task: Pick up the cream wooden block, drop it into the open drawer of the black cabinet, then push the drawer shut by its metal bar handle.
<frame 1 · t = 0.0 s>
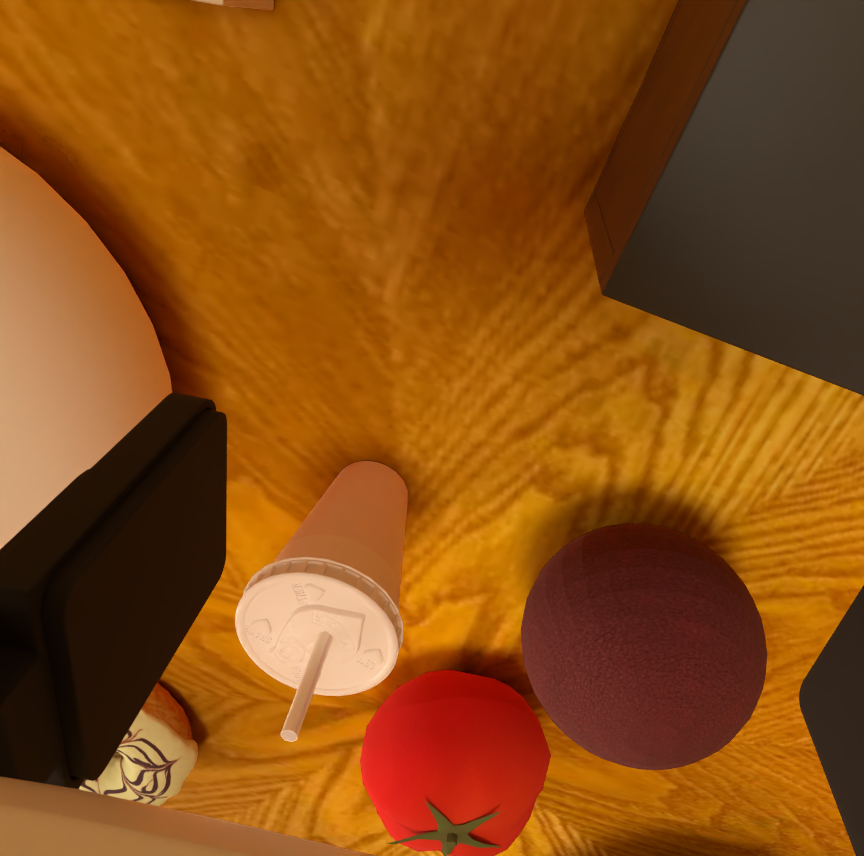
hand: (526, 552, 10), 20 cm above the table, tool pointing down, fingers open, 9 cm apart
smoothie: (372, 490, 35), on the table
decorative ball: (626, 561, 34), on the table
tomato: (464, 694, 41), on the table
decorated donut: (129, 713, 46), on the table
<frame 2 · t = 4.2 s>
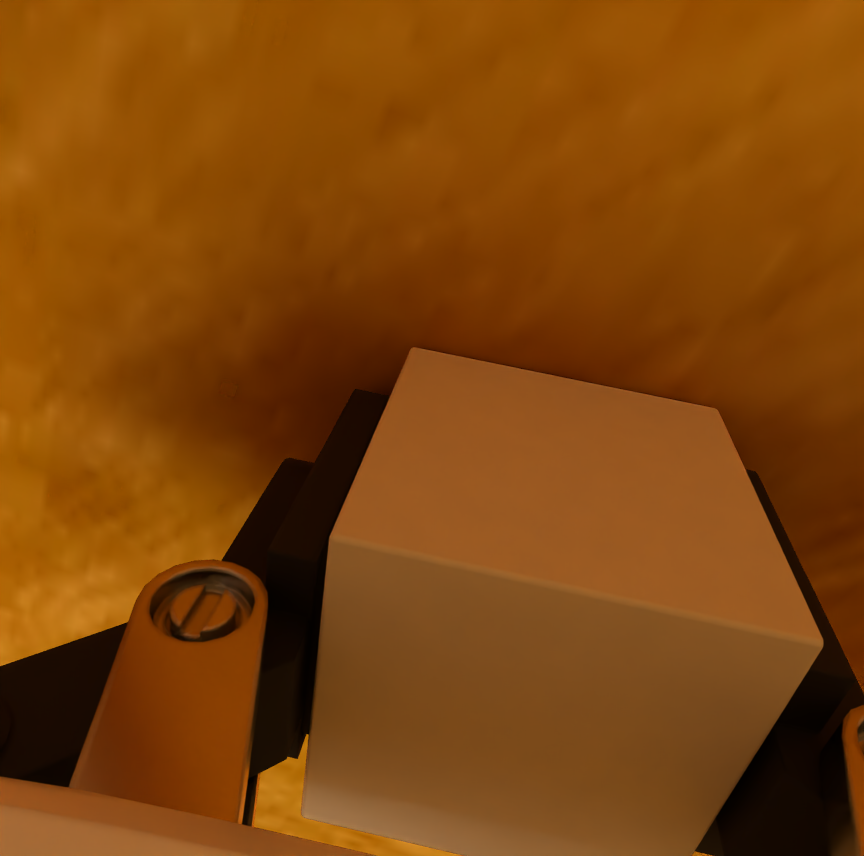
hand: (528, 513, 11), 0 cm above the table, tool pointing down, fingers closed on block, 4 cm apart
block: (528, 500, 11), on the table, touching gripper
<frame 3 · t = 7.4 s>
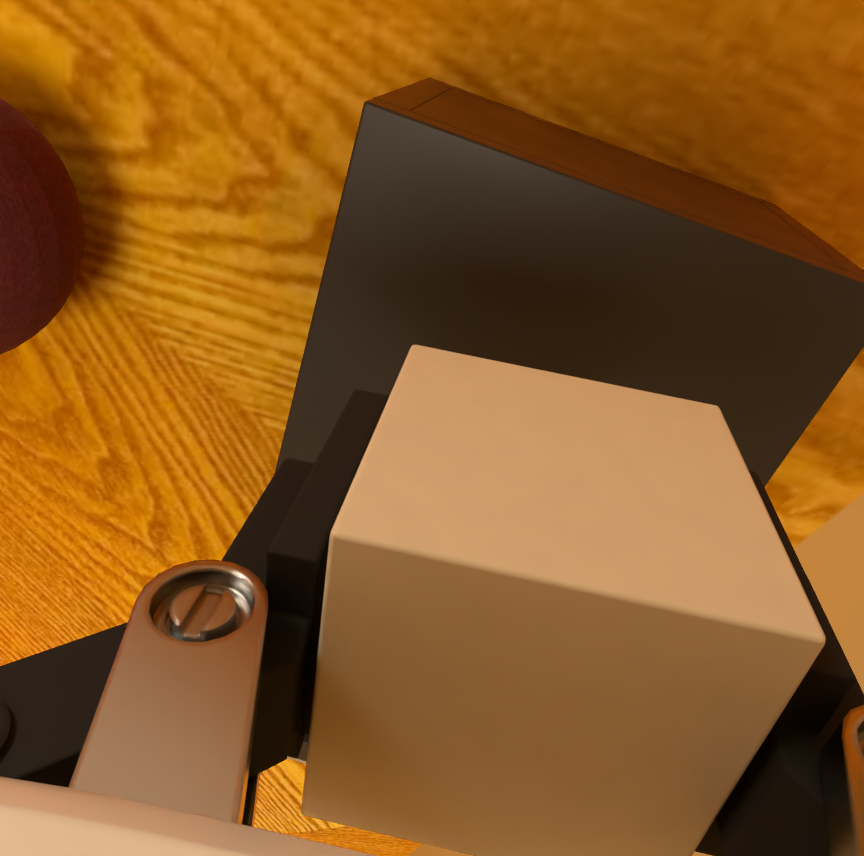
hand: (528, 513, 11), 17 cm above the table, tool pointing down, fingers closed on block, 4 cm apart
cabinet: (525, 330, 28), on the table
block: (529, 497, 11), point 17 cm above the table, touching gripper
decorative ball: (19, 190, 28), on the table
drawer: (411, 636, 30), point 5 cm above the table, slide at 9.0 cm
when the fingers open (10 cm above the table, at t = 10.5 s): block drops 8 cm, resting on drawer.
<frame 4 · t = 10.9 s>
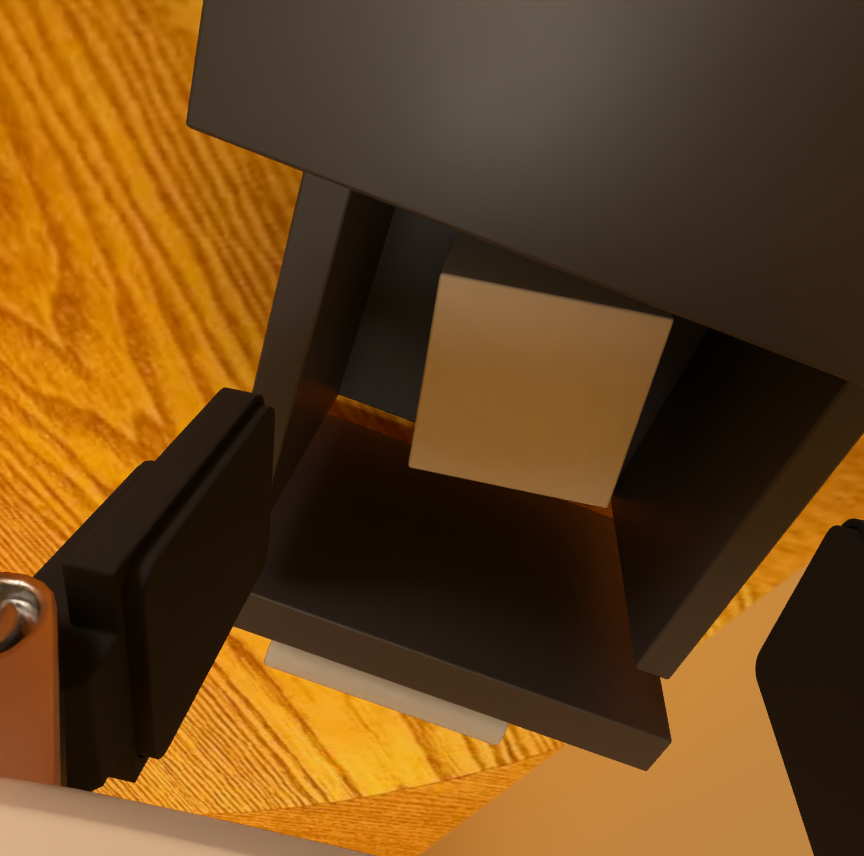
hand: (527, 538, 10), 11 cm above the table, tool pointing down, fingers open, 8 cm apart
block: (532, 322, 18), point 2 cm above the table, touching drawer
drawer: (495, 435, 17), point 5 cm above the table, slide at 9.0 cm, touching block
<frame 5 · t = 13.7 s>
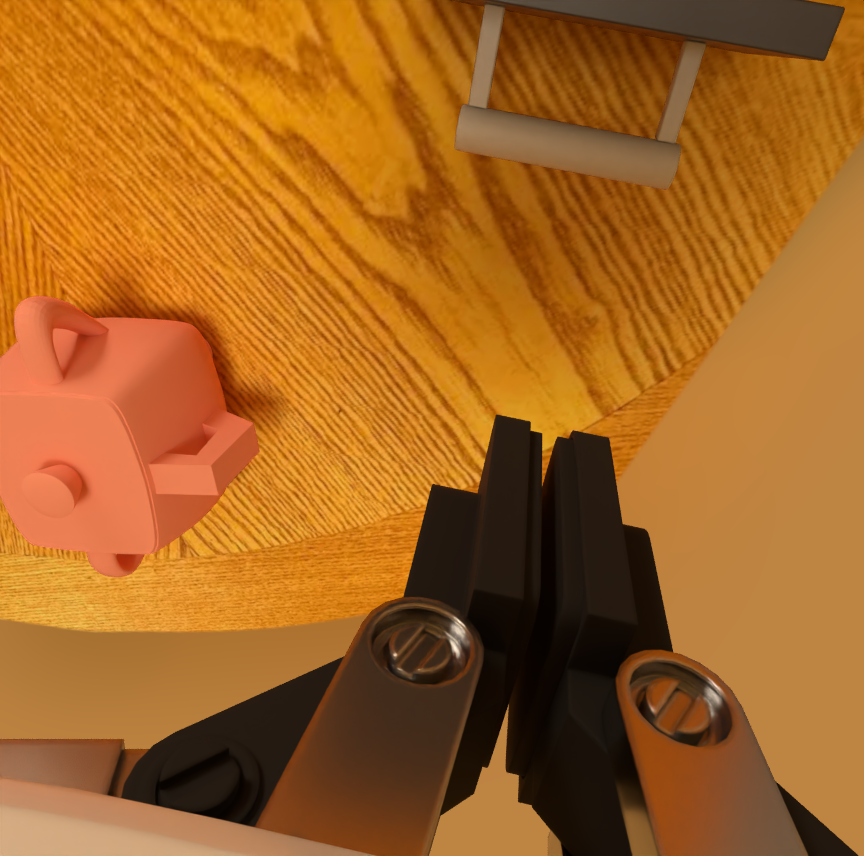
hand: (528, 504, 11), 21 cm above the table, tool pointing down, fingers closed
teapot: (149, 381, 36), on the table
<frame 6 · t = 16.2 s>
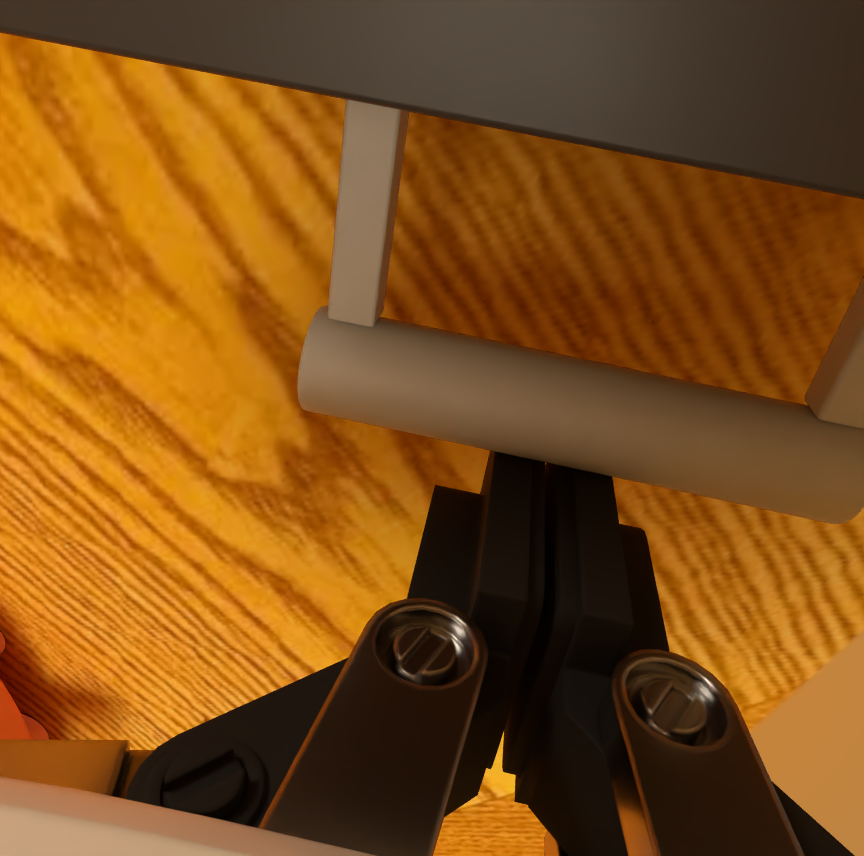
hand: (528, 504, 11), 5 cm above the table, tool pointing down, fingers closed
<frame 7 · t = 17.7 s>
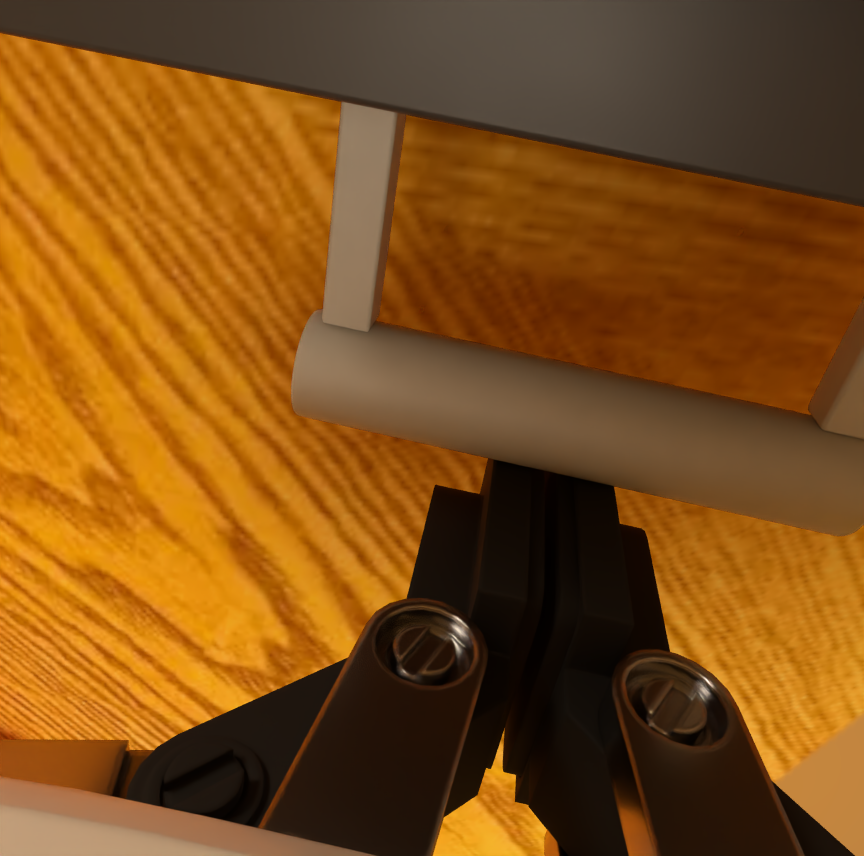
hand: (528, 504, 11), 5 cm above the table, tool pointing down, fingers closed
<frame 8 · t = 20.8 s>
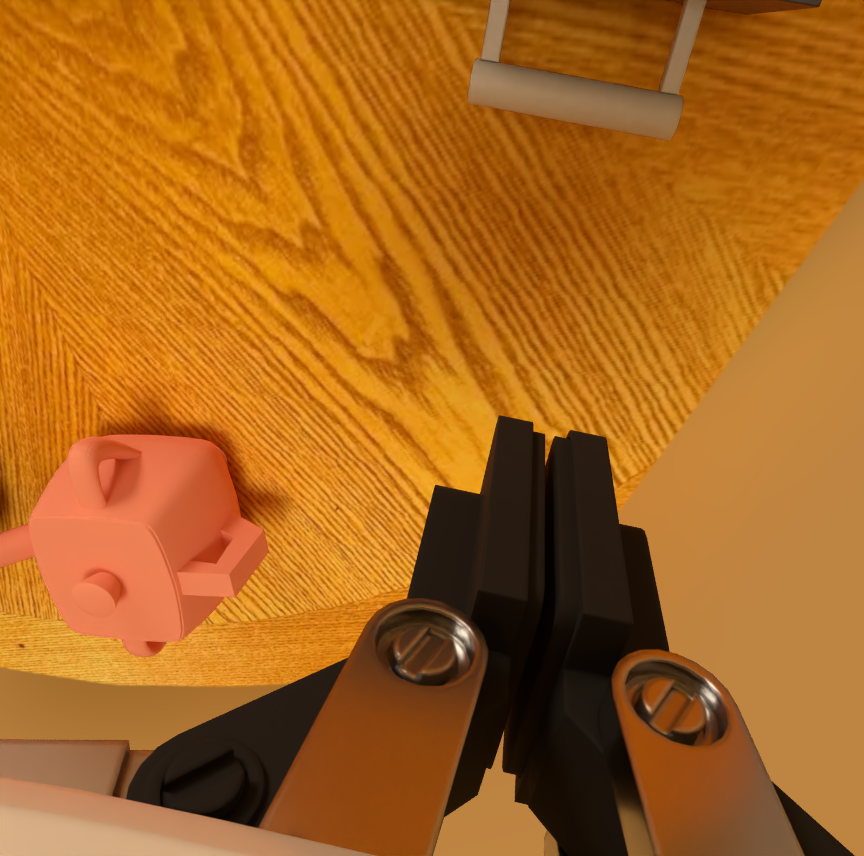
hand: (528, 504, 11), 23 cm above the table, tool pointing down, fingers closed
teapot: (172, 480, 42), on the table
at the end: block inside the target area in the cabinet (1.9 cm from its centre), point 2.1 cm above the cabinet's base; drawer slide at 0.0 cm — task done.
